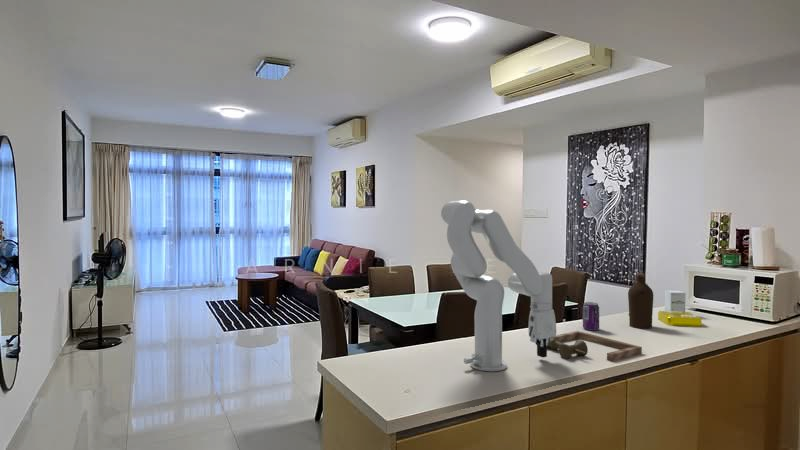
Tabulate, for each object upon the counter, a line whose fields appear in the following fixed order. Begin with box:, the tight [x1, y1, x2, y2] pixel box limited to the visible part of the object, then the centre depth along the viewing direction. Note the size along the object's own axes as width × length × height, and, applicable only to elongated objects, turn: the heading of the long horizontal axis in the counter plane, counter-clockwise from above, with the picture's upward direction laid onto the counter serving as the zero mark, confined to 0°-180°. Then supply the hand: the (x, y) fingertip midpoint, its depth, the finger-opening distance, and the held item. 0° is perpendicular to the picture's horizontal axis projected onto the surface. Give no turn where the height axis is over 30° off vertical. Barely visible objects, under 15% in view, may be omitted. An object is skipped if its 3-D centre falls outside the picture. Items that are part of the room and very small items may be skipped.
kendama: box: [547, 338, 589, 360], centre depth 174 cm, size 6×10×20 cm
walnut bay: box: [553, 330, 643, 362], centre depth 181 cm, size 18×29×2 cm, turn 30°
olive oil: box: [627, 272, 654, 330], centre depth 215 cm, size 11×11×25 cm
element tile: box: [657, 310, 702, 328], centre depth 222 cm, size 15×15×5 cm
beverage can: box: [582, 301, 600, 331], centre depth 211 cm, size 7×7×12 cm
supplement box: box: [664, 289, 686, 312], centre depth 239 cm, size 7×7×13 cm
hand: (541, 356), depth 167 cm, fingers closed
